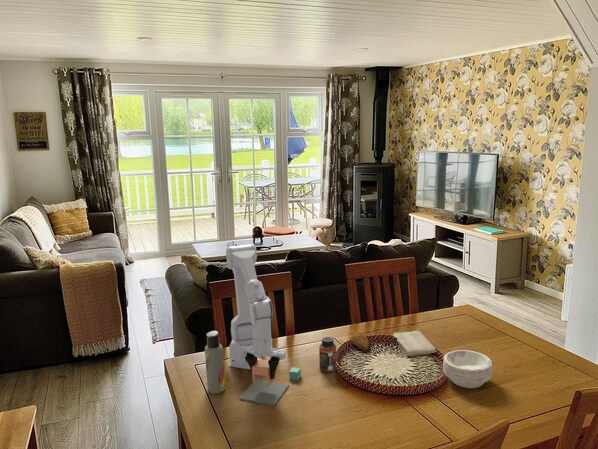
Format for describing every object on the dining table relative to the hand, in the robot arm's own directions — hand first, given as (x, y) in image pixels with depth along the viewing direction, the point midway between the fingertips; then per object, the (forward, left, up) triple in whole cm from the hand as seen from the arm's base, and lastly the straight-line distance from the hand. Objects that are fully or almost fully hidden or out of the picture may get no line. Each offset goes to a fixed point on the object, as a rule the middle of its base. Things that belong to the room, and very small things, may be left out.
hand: (263, 376), depth 156 cm
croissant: (+21, +43, -6) cm, 48 cm away
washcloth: (+41, +49, -6) cm, 64 cm away
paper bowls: (+61, +27, -6) cm, 67 cm away
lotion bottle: (-16, -3, -6) cm, 17 cm away
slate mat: (0, 0, -6) cm, 6 cm away
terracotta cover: (0, 0, -2) cm, 2 cm away
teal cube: (+6, +12, -6) cm, 15 cm away
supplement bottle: (+15, +21, -6) cm, 26 cm away
